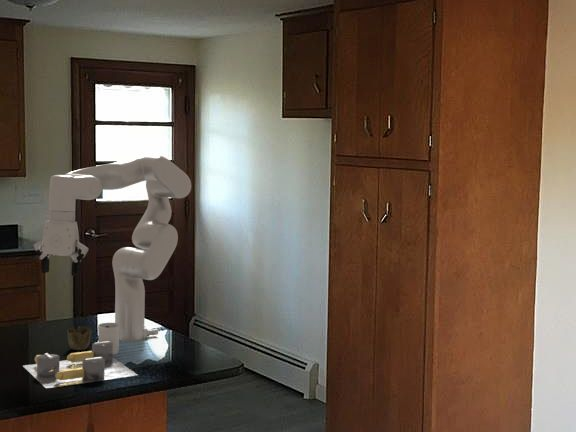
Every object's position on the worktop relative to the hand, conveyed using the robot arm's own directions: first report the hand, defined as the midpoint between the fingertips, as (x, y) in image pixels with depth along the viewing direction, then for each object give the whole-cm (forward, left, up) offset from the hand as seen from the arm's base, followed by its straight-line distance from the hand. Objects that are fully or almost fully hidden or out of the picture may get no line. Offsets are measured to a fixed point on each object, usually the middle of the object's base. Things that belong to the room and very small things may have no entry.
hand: (60, 273), depth 245 cm
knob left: (+2, +25, -25) cm, 35 cm away
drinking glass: (-15, +2, -27) cm, 31 cm away
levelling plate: (-1, +16, -27) cm, 31 cm away
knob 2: (-6, +10, -25) cm, 28 cm away
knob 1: (+8, +12, -25) cm, 29 cm away
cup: (-8, -5, -27) cm, 29 cm away
